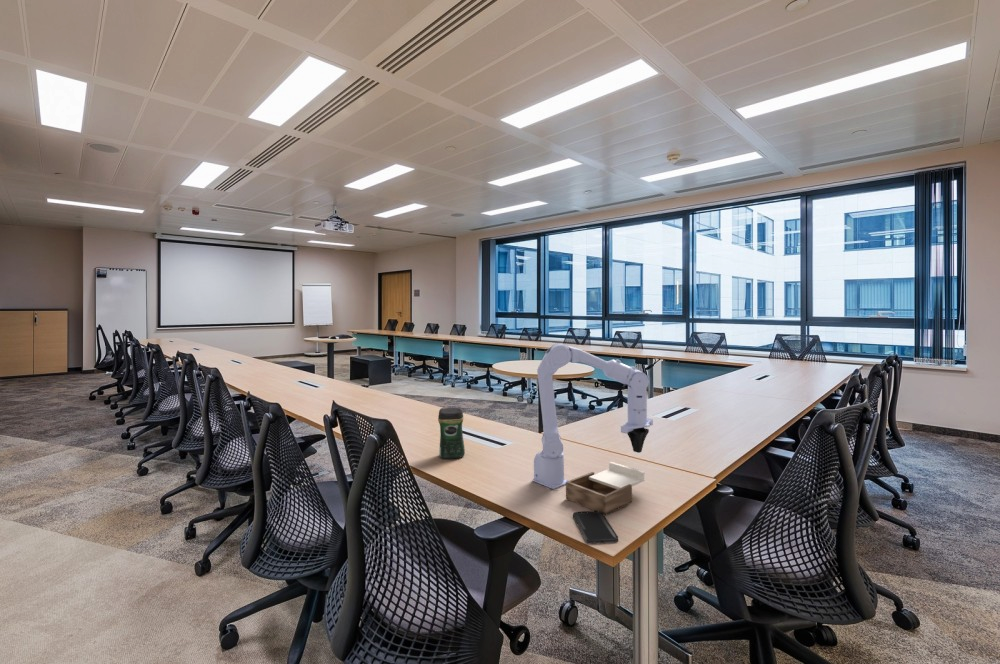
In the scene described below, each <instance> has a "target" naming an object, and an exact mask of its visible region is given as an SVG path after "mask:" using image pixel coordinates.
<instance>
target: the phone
mask: <svg viewBox="0 0 1000 664" xmlns="http://www.w3.org/2000/svg"><path fill="white" fill-rule="evenodd" d="M572 514H573V515H572V516H573V519H574V521H575V523H576V525H577V527H578V529H579V531H580V533H581V535H582V537H583V539H584V541H585V543H587V544H589V545H590V544H592V545H595V544H596V545H597V544H610V543H611V544H612V543H618V542H619V536H618V534H617V533H616V531H615V530H614V529H613V527H612V526H611V524H610V522H609V521H608V519H607V518H606V515H604V514H603V513H602V512H601V511H594V510H586V511H585V510H584V511H583V510H582V511H575V512H573V513H572Z"/></svg>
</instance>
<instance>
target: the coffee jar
mask: <svg viewBox="0 0 1000 664" xmlns="http://www.w3.org/2000/svg"><path fill="white" fill-rule="evenodd" d="M437 416H438V418H437V421H438V423H439V428H440V429H439V437H440V438H439V458H441V459H443V460H444V459H446V460H448V459H449V460H451V459H461V458H462V457H463V458H464V456H465V454H466V453H465V451H466V450H465V449H466V448H465V443H464V442H465V441H464V435H463V434H464V433H463V422H464V412H463V409H462V407H443V408H440V409H439V411H438V415H437Z"/></svg>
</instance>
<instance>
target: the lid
mask: <svg viewBox="0 0 1000 664" xmlns="http://www.w3.org/2000/svg"><path fill="white" fill-rule="evenodd" d="M589 480H592V481H595V482H598V483H600V484H603V485H606V486H609V487H612V488H615V489H620V488H622V487H624V486H626V485H628V484H631V485H632V487H634V486H636V485H639V484H641V483H643V482H645V471H643V470H640V469H637V468H634V467H630V466H627V465H623V464H620V463H617V462H613V461H609V463H608V469H605V470H602V471H600V472H597V473H594V475H592V476H590V477H589Z"/></svg>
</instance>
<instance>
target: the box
mask: <svg viewBox="0 0 1000 664" xmlns="http://www.w3.org/2000/svg"><path fill="white" fill-rule="evenodd" d="M592 475H595V472H594V471H590V472H588V473H585V474H582V475H580V476H577V477H576V478H572V479H570V480H569V481H567V482H566V484H565V500H567V501H570V502H571V503H572V502H573V503H575V504H578V505H580V506H582V507H585V508H587V509H590V510H591V511H601V512H602V513H603V515H604V516H608V515H609V514H611V513H613V512H615V511H617V510H619V509H621V508H623V507H625V506H627V505H629V504H631V503H633V492H632V491H633V486H632V485H631V484H628V485H626V486H624V487H622V488H620V489H615V488H612V487H609V486H606V485H603V484H600V483H598V482H595V481H592V480H589V477H590V476H592Z"/></svg>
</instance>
